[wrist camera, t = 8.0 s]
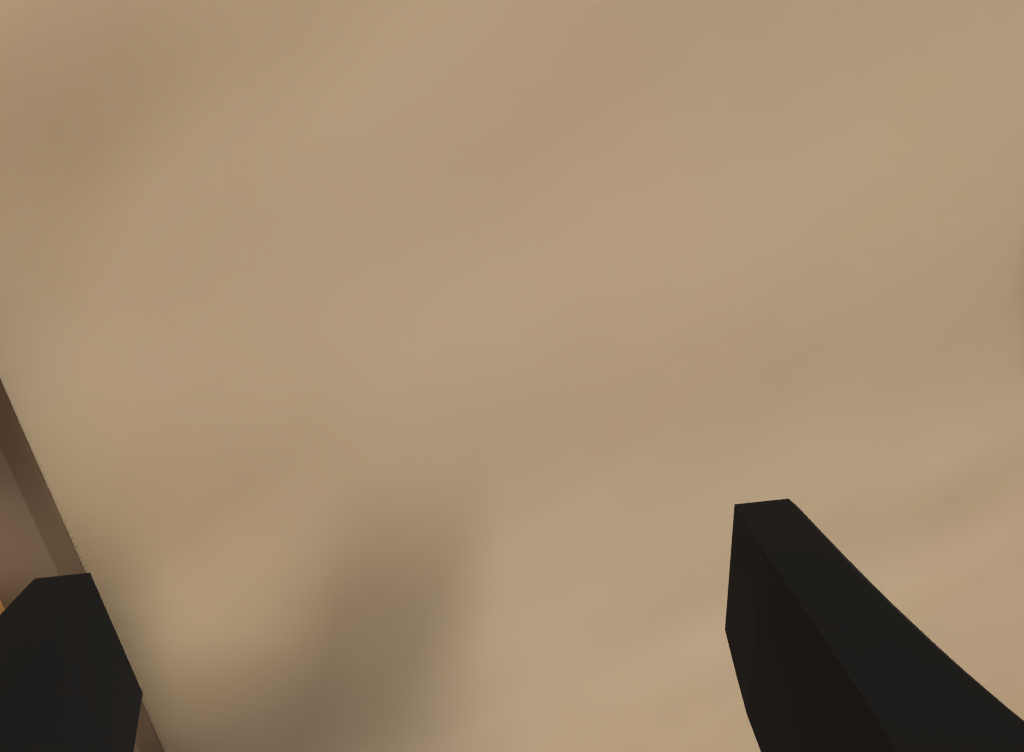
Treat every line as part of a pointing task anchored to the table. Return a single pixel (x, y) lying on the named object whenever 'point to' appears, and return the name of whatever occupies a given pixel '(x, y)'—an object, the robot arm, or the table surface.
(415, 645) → the table surface
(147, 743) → the walnut board
